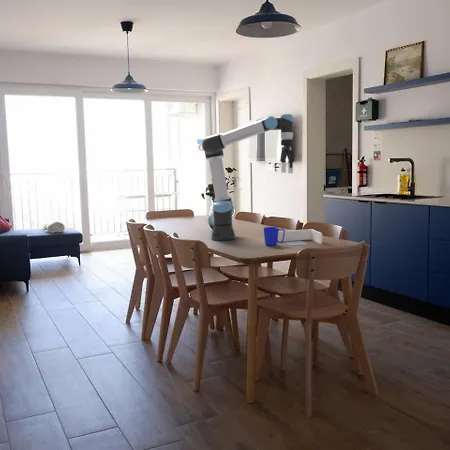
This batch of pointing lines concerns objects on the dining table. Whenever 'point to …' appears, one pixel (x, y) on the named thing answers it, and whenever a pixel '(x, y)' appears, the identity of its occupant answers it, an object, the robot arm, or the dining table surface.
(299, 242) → the mat
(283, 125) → the robot arm
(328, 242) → the dining table surface
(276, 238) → the mug
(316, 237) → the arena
